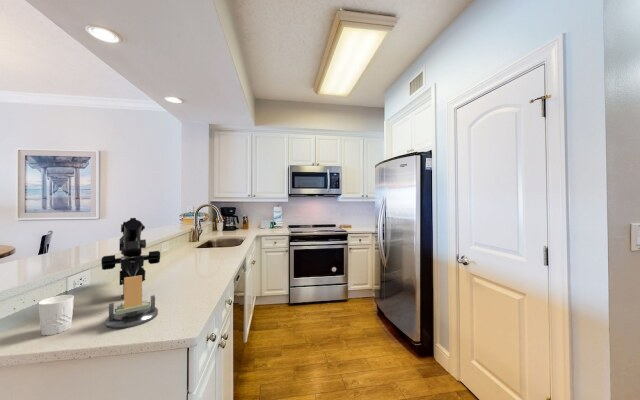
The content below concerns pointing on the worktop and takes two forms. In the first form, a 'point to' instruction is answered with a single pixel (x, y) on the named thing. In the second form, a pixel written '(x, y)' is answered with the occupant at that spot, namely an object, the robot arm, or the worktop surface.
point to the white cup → (55, 314)
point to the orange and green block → (132, 296)
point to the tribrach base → (131, 317)
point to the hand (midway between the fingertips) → (132, 278)
